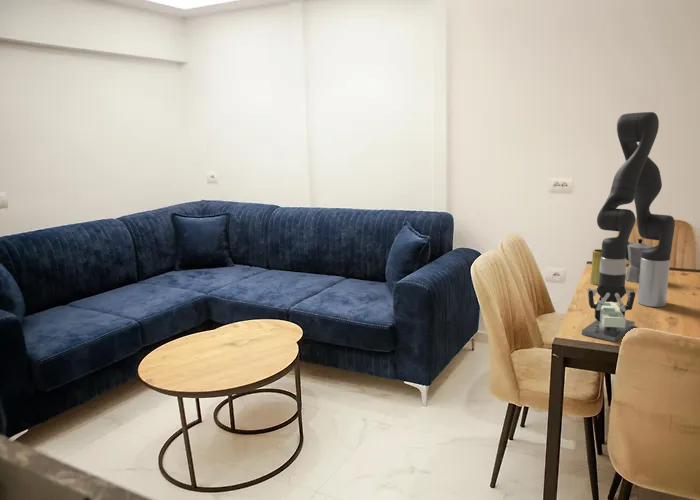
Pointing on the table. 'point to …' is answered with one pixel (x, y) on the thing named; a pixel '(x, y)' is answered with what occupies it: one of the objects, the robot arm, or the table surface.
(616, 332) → the base
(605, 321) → the flange bar
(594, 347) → the table surface
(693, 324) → the table surface
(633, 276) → the coffeepot
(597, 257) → the vase
